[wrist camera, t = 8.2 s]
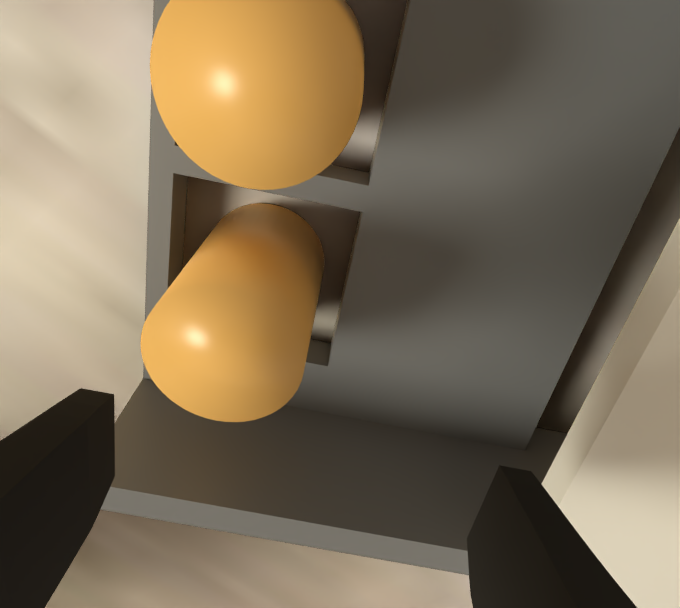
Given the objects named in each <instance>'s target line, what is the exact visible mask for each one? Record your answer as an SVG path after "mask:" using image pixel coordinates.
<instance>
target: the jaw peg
mask: <svg viewBox="0 0 680 608" xmlns="http://www.w3.org/2000/svg"><path fill="white" fill-rule="evenodd" d="M323 271H324V253H323V249H322V245H321V243H320V240H319V238H318V236H317V235H316V233H315V231H314V230H313V229H312V227H311V226H310V225H309V224H308V223H307V222H306V221H305V220H304V219H303V218H301V217H300V216H299V215H297V214H296V213H294V212H292V211H290V210H288V209H286V208H284V207H281V206H277V205H273V204H266V203H256V204H249V205H245V206H242V207H239V208H237V209H235V210H233V211H231V212H229V213H228V214H227V215H226V216H224V217H223V218H222V219H221V220H220V221H219V222H218V224H217V225H216V226H215V228H214V229H213V230H212V231H211V233H210V234H209V235H208V237H207V238H206V239H205V241H204V242H203V243H202V245H201V246H200V247H199V249H198V250H197V251H196V253H195V254H194V255H193V256H192V258H191V259H190V260H189V262H188V263H187V264H186V266H185V267H184V268H183V270H182V271H181V272H180V274H179V275H178V276H177V278H176V279H175V280H174V281H173V283H172V284H171V285H170V287H169V288H168V289H167V291H166V292H165V293H164V295H163V296H162V297H161V299H160V300H159V301H158V303H157V304H156V305H155V306H154V308H153V309H152V311H151V312H150V314H149V315H148V317H147V319H146V321H145V323H144V326H143V330H142V334H141V353H142V358H143V361H144V364H145V367H146V369H147V371H148V373H149V375H150V377H151V379H152V380H153V382H154V383H155V384H156V386H157V387H158V388H159V389H160V390H161V391H162V393H164V394H165V395H166V396H167V397H168V398H169V399H170V400H171V401H173V402H174V403H176V404H177V405H178V406H180V407H182V408H183V409H185V410H187V411H189V412H191V413H193V414H195V415H198V416H201V417H204V418H207V419H211V420H216V421H223V422H245V421H251V420H256V419H259V418H262V417H265V416H267V415H270V414H272V413H274V412H275V411H277V410H279V409H280V408H281V407H283V406H284V405H285V404H286V403H287V402H288V401H289V400H290V399H291V398H292V397H293V396H294V394H295V393H296V391H297V390H298V387H299V385H300V383H301V381H302V377H303V374H304V369H305V364H306V358H307V353H308V348H309V343H310V338H311V333H312V328H313V323H314V318H315V312H316V307H317V302H318V297H319V292H320V287H321V282H322V277H323Z"/></svg>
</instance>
